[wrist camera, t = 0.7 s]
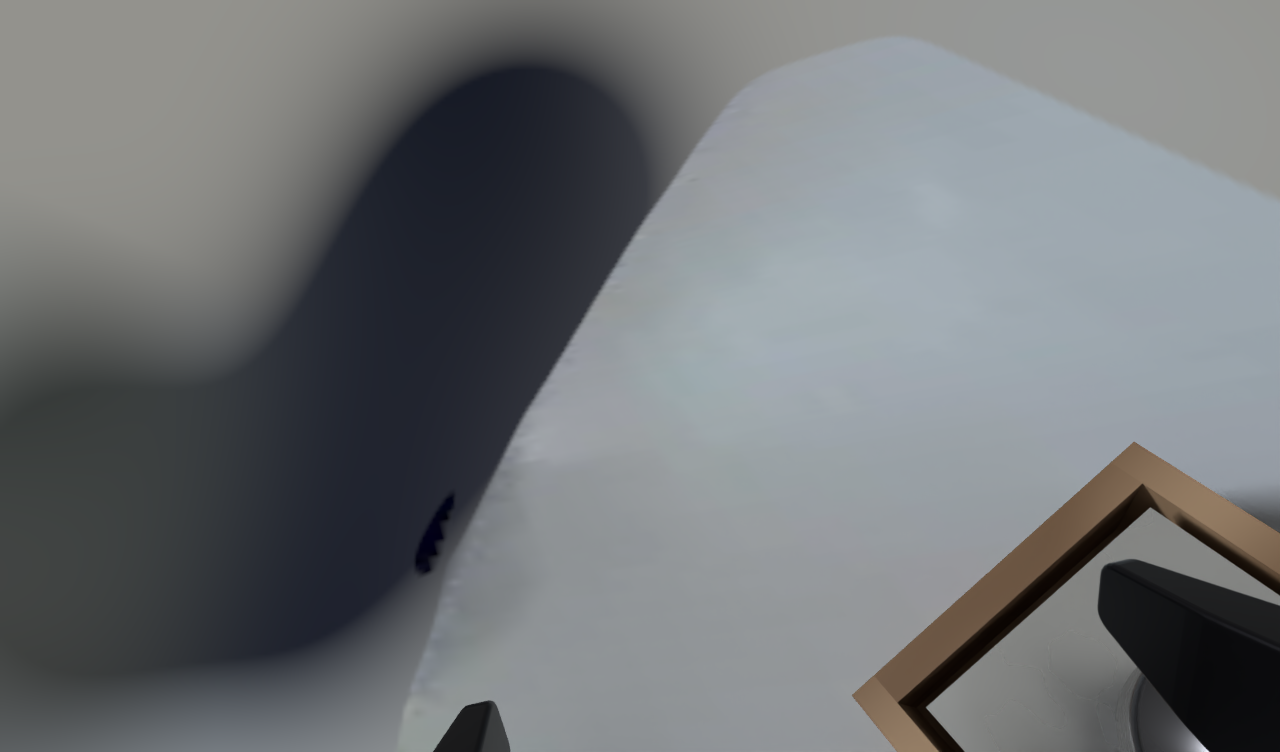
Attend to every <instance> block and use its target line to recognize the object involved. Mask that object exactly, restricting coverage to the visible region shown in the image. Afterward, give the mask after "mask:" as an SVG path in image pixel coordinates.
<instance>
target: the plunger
mask: <svg viewBox="0 0 1280 752" xmlns="http://www.w3.org/2000/svg"><path fill="white" fill-rule="evenodd" d="M1125 559H1137V560H1141V561H1144V562H1147V563H1150V564H1153V565H1156V566H1159V567H1162V568H1166V569H1169V570H1172V571H1175V572H1178V573H1181V574H1184V575H1187V576H1190V577H1193V578H1196V579H1200V580H1203V581H1206V582H1209V583H1212V584H1215V585H1218V586H1221V587H1224V588H1227V589H1230V590H1234V591H1237V592H1240V593H1243V594H1246V595H1249V596H1252V597H1255V598H1258V599H1261V600H1264V601H1268V602H1271V603H1274V604H1277V605H1280V596H1279V595H1278V594H1277V593H1275V592H1274V591H1272V590H1271V589H1269V588H1268V587H1266V586H1265V585H1263V584H1262V583H1260V582H1259V581H1257V580H1256V579H1255V578H1253V577H1252V576H1250V575H1249V574H1247V573H1246V572H1244V571H1243V570H1241V569H1240V568H1238V567H1237V566H1236V565H1234V564H1233V563H1231V562H1230V561H1228V560H1227V559H1225V558H1224V557H1222V556H1221V555H1219V554H1218V553H1216V552H1215V551H1214V550H1212V549H1211V548H1209V547H1208V546H1206V545H1205V544H1203V543H1202V542H1200V541H1199V540H1197V539H1196V538H1195V537H1193V536H1192V535H1190V534H1189V533H1187V532H1186V531H1184V530H1183V529H1181V528H1180V527H1178V526H1177V525H1176V524H1174V523H1173V522H1171V521H1170V520H1168V519H1167V518H1165V517H1164V516H1162V515H1161V514H1159V513H1158V512H1156V511H1155V510H1154V509H1152V508H1151V507H1150V508H1149V509H1148V510H1147V511H1146V512H1145V513H1143V514H1142V515H1141V516H1140V517H1139V518H1138V519H1137V520H1136V521H1134V522H1133V523H1132V524H1131V525H1130V526H1129V527H1128V528H1127V529H1126V530H1124V531H1123V532H1122V533H1121V534H1120V535H1119V536H1118V537H1117V538H1115V539H1114V540H1113V541H1112V542H1111V543H1110V544H1109V545H1108V546H1106V547H1105V548H1104V549H1103V550H1102V551H1101V552H1100V553H1099V554H1097V555H1096V556H1095V557H1094V558H1093V559H1092V560H1091V561H1090V562H1089V563H1087V564H1086V565H1085V566H1084V567H1083V568H1082V569H1081V570H1080V571H1078V572H1077V573H1076V574H1075V575H1074V576H1073V577H1072V578H1071V579H1069V580H1068V581H1067V582H1066V583H1065V584H1064V585H1063V586H1062V587H1061V588H1059V589H1058V590H1057V591H1056V592H1055V593H1054V594H1053V595H1052V596H1050V597H1049V598H1048V599H1047V600H1046V601H1045V602H1044V603H1043V604H1041V605H1040V606H1039V607H1038V608H1037V609H1036V610H1035V611H1034V612H1032V613H1031V614H1030V615H1029V616H1028V617H1027V618H1026V619H1025V620H1024V621H1022V622H1021V623H1020V624H1019V625H1018V626H1017V627H1016V628H1015V629H1013V630H1012V631H1011V632H1010V633H1009V634H1008V635H1007V636H1006V637H1004V638H1003V639H1002V640H1001V641H1000V642H999V643H998V644H997V645H995V646H994V647H993V648H992V649H991V650H990V651H989V652H988V653H987V654H985V655H984V656H983V657H982V658H981V659H980V660H979V661H978V662H976V663H975V664H974V665H973V666H972V667H971V668H970V669H969V670H967V671H966V672H965V673H964V674H963V675H962V676H961V677H960V678H959V679H957V680H956V681H955V682H954V683H953V684H952V685H951V686H950V687H948V688H947V689H946V690H945V691H944V692H943V693H942V694H941V695H939V696H938V697H937V698H936V699H935V700H934V701H933V702H932V703H930V704H929V705H928V706H927V707H926V708H927V709H928V710H929V711H930V713H931V714H932V715H933V716H934V717H935V718H936V719H937V721H938V722H939V723H940V724H941V725H942V726H943V727H944V729H945V730H946V731H947V732H948V733H949V734H950V735H951V737H952V738H953V739H954V740H955V741H956V742H957V743H958V744H959V746H960V747H961V748H962V749H963V750H964V751H965V752H1209V751H1208V750H1207V749H1206V748H1205V747H1204V746H1203V745H1202V744H1201V743H1200V742H1199V741H1198V739H1197V738H1196V737H1195V736H1194V735H1193V734H1192V733H1191V732H1190V731H1189V730H1188V728H1187V727H1186V726H1185V725H1184V724H1183V723H1182V722H1181V720H1180V719H1179V718H1178V717H1177V716H1176V714H1175V713H1174V712H1173V711H1172V710H1171V709H1170V707H1169V706H1168V705H1167V704H1166V702H1165V701H1164V700H1163V699H1162V697H1161V696H1160V695H1159V694H1158V692H1157V691H1156V690H1155V689H1154V687H1153V686H1152V685H1151V684H1150V683H1149V681H1148V680H1147V679H1146V678H1145V676H1144V675H1143V674H1142V673H1141V671H1140V670H1139V669H1138V668H1137V666H1136V665H1135V664H1134V663H1133V661H1132V660H1131V659H1130V658H1129V656H1128V655H1127V654H1126V653H1125V651H1124V650H1123V649H1122V648H1121V647H1120V645H1119V644H1118V643H1117V642H1116V640H1115V639H1114V638H1113V637H1112V635H1111V634H1110V633H1109V632H1108V630H1107V629H1106V628H1105V626H1104V625H1103V623H1102V621H1101V620H1100V617H1099V614H1098V610H1097V605H1098V594H1099V584H1100V573H1101V569H1102V568H1103V567H1104V565H1106V564H1108V563H1112V562H1116V561H1121V560H1125Z"/></svg>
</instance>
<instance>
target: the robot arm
mask: <svg viewBox="0 0 1280 752" xmlns="http://www.w3.org/2000/svg"><path fill="white" fill-rule="evenodd" d="M1097 610H1098V614H1099V617H1100V620H1101V621H1102V623H1103V625H1104V626H1105V628H1106V629H1107V630H1108V632H1109V633H1110V634H1111V635H1112V637H1113V638H1114V639H1115V640H1116V642H1117V643H1118V644H1119V645H1120V647H1121V648H1122V649H1123V650H1124V651H1125V653H1126V654H1127V655H1128V656H1129V658H1130V659H1131V660H1132V661H1133V663H1134V664H1135V665H1136V666H1137V668H1138V669H1139V670H1140V671H1141V673H1142V674H1143V675H1144V676H1145V678H1146V679H1147V680H1148V681H1149V683H1150V684H1151V685H1152V686H1153V687H1154V689H1155V690H1156V691H1157V692H1158V694H1159V695H1160V696H1161V697H1162V699H1163V700H1164V701H1165V702H1166V704H1167V705H1168V706H1169V707H1170V709H1171V710H1172V711H1173V712H1174V713H1175V714H1176V716H1177V717H1178V718H1179V719H1180V720H1181V722H1182V723H1183V724H1184V725H1185V726H1186V727H1187V728H1188V730H1189V731H1190V732H1191V733H1192V734H1193V735H1194V736H1195V737H1196V738H1197V739H1198V741H1199V742H1200V743H1201V744H1202V745H1203V746H1204V747H1205V748H1206V749H1207V750H1208V751H1209V752H1280V605H1277V604H1274V603H1271V602H1268V601H1264V600H1261V599H1258V598H1255V597H1252V596H1249V595H1246V594H1243V593H1240V592H1237V591H1234V590H1230V589H1227V588H1224V587H1221V586H1218V585H1215V584H1212V583H1209V582H1206V581H1203V580H1200V579H1196V578H1193V577H1190V576H1187V575H1184V574H1181V573H1178V572H1175V571H1172V570H1169V569H1166V568H1162V567H1159V566H1156V565H1153V564H1150V563H1147V562H1144V561H1141V560H1137V559H1125V560H1121V561H1116V562H1112V563H1108V564H1106V565H1104V567H1103V568H1102V569H1101V573H1100V584H1099V594H1098V605H1097ZM433 752H510V746H509V741H508V738H507V735H506V732H505V729H504V726H503V723H502V720H501V717H500V714H499V711H498V708H497V706H496V704H495V703H494V702H493V701H484V702H480V703H475V704H471V705H467V706H465V707H464V708H463V709H462V710H461V711H460V713H459V714H458V716H457V717H456V719H455V720H454V722H453V723H452V725H451V726H450V728H449V729H448V731H447V732H446V733H445V735H444V736H443V738H442V739H441V741H440V742H439V744H438V745H437V747H436V748H435V750H434V751H433Z"/></svg>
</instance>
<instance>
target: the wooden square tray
mask: <svg viewBox="0 0 1280 752" xmlns="http://www.w3.org/2000/svg"><path fill="white" fill-rule="evenodd" d="M1150 507H1151V508H1152V509H1154V510H1155V511H1156V512H1158V513H1159V514H1161V515H1162V516H1164V517H1165V518H1167V519H1168V520H1170V521H1171V522H1173V523H1174V524H1176V525H1177V526H1178V527H1180V528H1181V529H1183V530H1184V531H1186V532H1187V533H1189V534H1190V535H1192V536H1193V537H1195V538H1196V539H1197V540H1199V541H1200V542H1202V543H1203V544H1205V545H1206V546H1208V547H1209V548H1211V549H1212V550H1214V551H1215V552H1216V553H1218V554H1219V555H1221V556H1222V557H1224V558H1225V559H1227V560H1228V561H1230V562H1231V563H1233V564H1234V565H1236V566H1237V567H1238V568H1240V569H1241V570H1243V571H1244V572H1246V573H1247V574H1249V575H1250V576H1252V577H1253V578H1255V579H1256V580H1257V581H1259V582H1260V583H1262V584H1263V585H1265V586H1266V587H1268V588H1269V589H1271V590H1272V591H1274V592H1275V593H1277V594H1278V595H1279V596H1280V533H1279V532H1277V531H1276V530H1274V529H1272V528H1271V527H1269V526H1268V525H1266V524H1264V523H1263V522H1261V521H1260V520H1258V519H1256V518H1255V517H1253V516H1252V515H1250V514H1248V513H1247V512H1245V511H1244V510H1242V509H1240V508H1239V507H1237V506H1236V505H1234V504H1232V503H1231V502H1229V501H1228V500H1226V499H1225V498H1223V497H1221V496H1220V495H1218V494H1217V493H1215V492H1213V491H1212V490H1210V489H1209V488H1207V487H1205V486H1204V485H1202V484H1201V483H1199V482H1197V481H1196V480H1194V479H1193V478H1191V477H1189V476H1188V475H1186V474H1185V473H1183V472H1182V471H1180V470H1178V469H1177V468H1175V467H1174V466H1172V465H1170V464H1169V463H1167V462H1166V461H1164V460H1162V459H1161V458H1159V457H1158V456H1156V455H1154V454H1153V453H1151V452H1150V451H1148V450H1146V449H1145V448H1143V447H1142V446H1140V445H1139V444H1137V443H1135V442H1133V443H1132V444H1131V445H1130V446H1129V447H1128V448H1127V449H1125V450H1124V451H1123V452H1122V453H1121V454H1120V455H1119V456H1118V457H1116V458H1115V459H1114V460H1113V461H1112V462H1111V463H1110V464H1109V465H1108V466H1106V467H1105V468H1104V469H1103V470H1102V471H1101V472H1100V473H1099V474H1098V475H1096V476H1095V477H1094V478H1093V479H1092V480H1091V481H1090V482H1089V483H1088V484H1086V485H1085V486H1084V487H1083V488H1082V489H1081V490H1080V491H1079V492H1078V493H1076V494H1075V495H1074V496H1073V497H1072V498H1071V499H1070V500H1069V501H1067V502H1066V503H1065V504H1064V505H1063V506H1062V507H1061V508H1060V509H1059V510H1057V511H1056V512H1055V513H1054V514H1053V515H1052V516H1051V517H1050V518H1049V519H1047V520H1046V521H1045V522H1044V523H1043V524H1042V525H1041V526H1040V527H1039V528H1037V529H1036V530H1035V531H1034V532H1033V533H1032V534H1031V535H1030V536H1029V537H1027V538H1026V539H1025V540H1024V541H1023V542H1022V543H1021V544H1020V545H1019V546H1017V547H1016V548H1015V549H1014V550H1013V551H1012V552H1011V553H1010V554H1008V555H1007V556H1006V557H1005V558H1004V559H1003V560H1002V561H1001V562H1000V563H998V564H997V565H996V566H995V567H994V568H993V569H992V570H991V571H990V572H988V573H987V574H986V575H985V576H984V577H983V578H982V579H981V580H980V581H978V582H977V583H976V584H975V585H974V586H973V587H972V588H971V589H970V590H968V591H967V592H966V593H965V594H964V595H963V596H962V597H961V598H960V599H958V600H957V601H956V602H955V603H954V604H953V605H952V606H951V607H949V608H948V609H947V610H946V611H945V612H944V613H943V614H942V615H941V616H939V617H938V618H937V619H936V620H935V621H934V622H933V623H932V624H931V625H929V626H928V627H927V628H926V629H925V630H924V631H923V632H922V633H921V634H919V635H918V636H917V637H916V638H915V639H914V640H913V641H912V642H911V643H909V644H908V645H907V646H906V647H905V648H904V649H903V650H902V651H900V652H899V653H898V654H897V655H896V656H895V657H894V658H893V659H892V660H890V661H889V662H888V663H887V664H886V665H885V666H884V667H883V668H882V669H880V670H879V671H878V672H877V673H876V674H875V675H874V676H873V677H872V678H870V679H869V680H868V681H867V682H866V683H865V684H864V685H863V686H862V687H860V688H859V689H858V690H857V691H856V692H855V693H854V694H853V695H852V696H853V697H854V699H855V700H856V701H857V702H858V704H859V705H860V706H861V707H862V709H863V710H864V711H865V712H866V714H867V715H868V716H869V717H870V719H871V720H872V721H873V722H874V724H875V725H876V726H877V727H878V729H879V730H880V731H881V732H882V734H883V735H884V736H885V737H886V739H887V740H888V741H889V742H890V743H891V745H892V746H893V747H894V748H895V750H896V751H897V752H965V751H964V750H963V749H962V748H961V747H960V746H959V744H958V743H957V742H956V741H955V740H954V739H953V738H952V737H951V735H950V734H949V733H948V732H947V731H946V730H945V729H944V727H943V726H942V725H941V724H940V723H939V722H938V721H937V719H936V718H935V717H934V716H933V715H932V714H931V713H930V711H929V710H928V709H927V708H926V707H927V706H928V705H929V704H930V703H932V702H933V701H934V700H935V699H936V698H937V697H938V696H939V695H941V694H942V693H943V692H944V691H945V690H946V689H947V688H948V687H950V686H951V685H952V684H953V683H954V682H955V681H956V680H957V679H959V678H960V677H961V676H962V675H963V674H964V673H965V672H966V671H967V670H969V669H970V668H971V667H972V666H973V665H974V664H975V663H976V662H978V661H979V660H980V659H981V658H982V657H983V656H984V655H985V654H987V653H988V652H989V651H990V650H991V649H992V648H993V647H994V646H995V645H997V644H998V643H999V642H1000V641H1001V640H1002V639H1003V638H1004V637H1006V636H1007V635H1008V634H1009V633H1010V632H1011V631H1012V630H1013V629H1015V628H1016V627H1017V626H1018V625H1019V624H1020V623H1021V622H1022V621H1024V620H1025V619H1026V618H1027V617H1028V616H1029V615H1030V614H1031V613H1032V612H1034V611H1035V610H1036V609H1037V608H1038V607H1039V606H1040V605H1041V604H1043V603H1044V602H1045V601H1046V600H1047V599H1048V598H1049V597H1050V596H1052V595H1053V594H1054V593H1055V592H1056V591H1057V590H1058V589H1059V588H1061V587H1062V586H1063V585H1064V584H1065V583H1066V582H1067V581H1068V580H1069V579H1071V578H1072V577H1073V576H1074V575H1075V574H1076V573H1077V572H1078V571H1080V570H1081V569H1082V568H1083V567H1084V566H1085V565H1086V564H1087V563H1089V562H1090V561H1091V560H1092V559H1093V558H1094V557H1095V556H1096V555H1097V554H1099V553H1100V552H1101V551H1102V550H1103V549H1104V548H1105V547H1106V546H1108V545H1109V544H1110V543H1111V542H1112V541H1113V540H1114V539H1115V538H1117V537H1118V536H1119V535H1120V534H1121V533H1122V532H1123V531H1124V530H1126V529H1127V528H1128V527H1129V526H1130V525H1131V524H1132V523H1133V522H1134V521H1136V520H1137V519H1138V518H1139V517H1140V516H1141V515H1142V514H1143V513H1145V512H1146V511H1147V510H1148V509H1149V508H1150Z"/></svg>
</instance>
